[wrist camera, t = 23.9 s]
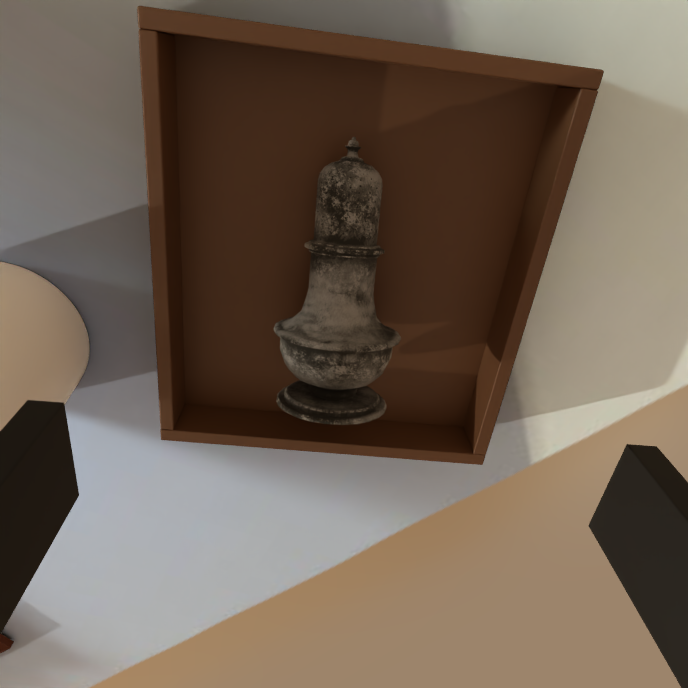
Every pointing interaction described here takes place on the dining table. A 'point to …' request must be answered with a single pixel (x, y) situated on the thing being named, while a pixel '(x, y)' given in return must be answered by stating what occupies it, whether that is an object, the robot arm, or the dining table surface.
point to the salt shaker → (339, 304)
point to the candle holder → (37, 341)
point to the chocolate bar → (5, 643)
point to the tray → (393, 232)
